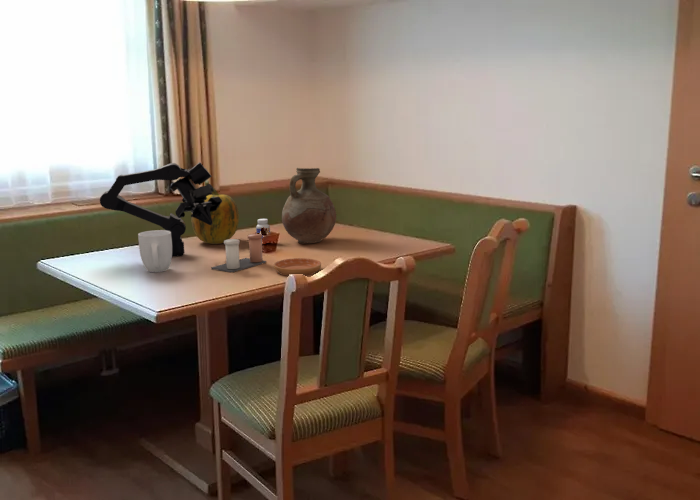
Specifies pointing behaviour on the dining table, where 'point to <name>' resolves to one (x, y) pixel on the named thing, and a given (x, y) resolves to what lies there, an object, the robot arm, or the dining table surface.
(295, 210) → the jug
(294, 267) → the saucer
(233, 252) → the white lidded cylinder
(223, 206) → the pumpkin
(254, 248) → the pink lidded jar
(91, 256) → the dining table surface
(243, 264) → the mat
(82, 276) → the dining table surface
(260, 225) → the pill bottle
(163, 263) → the mug
